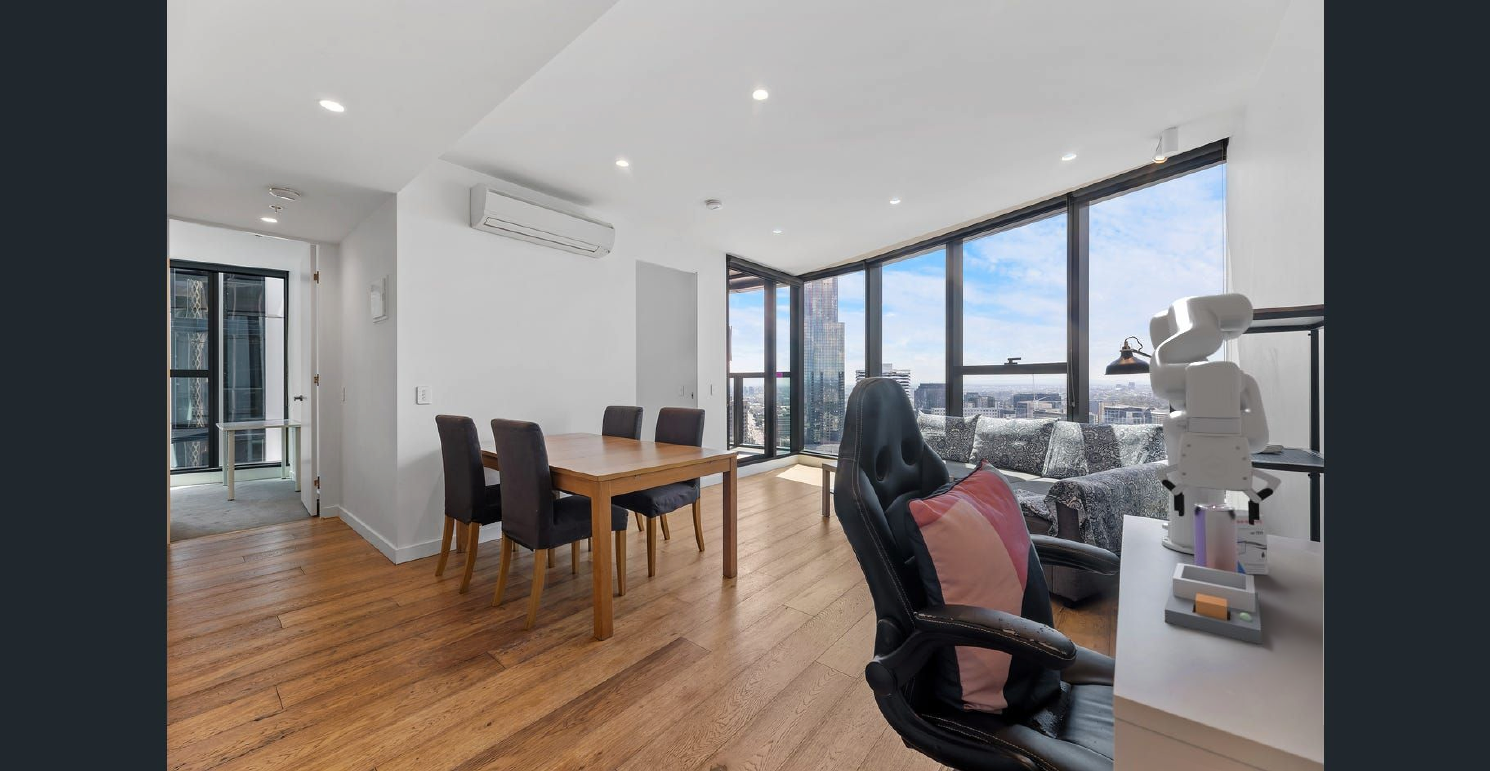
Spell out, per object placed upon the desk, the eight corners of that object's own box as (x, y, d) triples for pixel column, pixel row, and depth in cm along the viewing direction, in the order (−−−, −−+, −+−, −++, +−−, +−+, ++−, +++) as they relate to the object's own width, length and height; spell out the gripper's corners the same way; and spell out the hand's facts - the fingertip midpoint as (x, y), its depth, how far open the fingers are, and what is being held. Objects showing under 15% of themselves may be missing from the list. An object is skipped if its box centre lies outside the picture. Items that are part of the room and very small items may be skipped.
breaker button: (1197, 612, 85) (1196, 593, 85) (1227, 619, 82) (1226, 599, 82) (1195, 620, 82) (1195, 600, 82) (1226, 627, 79) (1226, 606, 79)
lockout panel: (1175, 588, 96) (1174, 561, 96) (1258, 604, 89) (1257, 575, 89) (1164, 621, 83) (1164, 590, 83) (1261, 644, 76) (1260, 610, 76)
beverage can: (1187, 582, 98) (1186, 504, 98) (1206, 578, 101) (1205, 501, 101) (1226, 594, 93) (1224, 511, 93) (1245, 589, 95) (1243, 507, 95)
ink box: (1221, 574, 102) (1220, 515, 102) (1202, 565, 107) (1200, 509, 107) (1269, 575, 101) (1268, 515, 101) (1247, 566, 106) (1246, 509, 106)
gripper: (1151, 426, 100) (1154, 515, 99) (1280, 430, 88) (1283, 531, 87) (1156, 425, 105) (1158, 509, 105) (1278, 428, 93) (1281, 523, 93)
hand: (1215, 519), depth 96 cm, fingers open, 9 cm apart
